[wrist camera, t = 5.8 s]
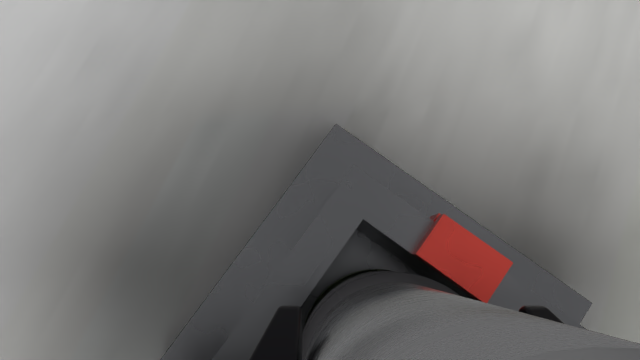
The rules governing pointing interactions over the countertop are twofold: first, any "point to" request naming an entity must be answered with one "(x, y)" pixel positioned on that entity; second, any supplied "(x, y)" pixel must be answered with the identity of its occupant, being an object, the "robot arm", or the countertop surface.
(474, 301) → the grey ridged cylinder
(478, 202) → the countertop surface
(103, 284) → the countertop surface
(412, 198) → the stand sleeve
